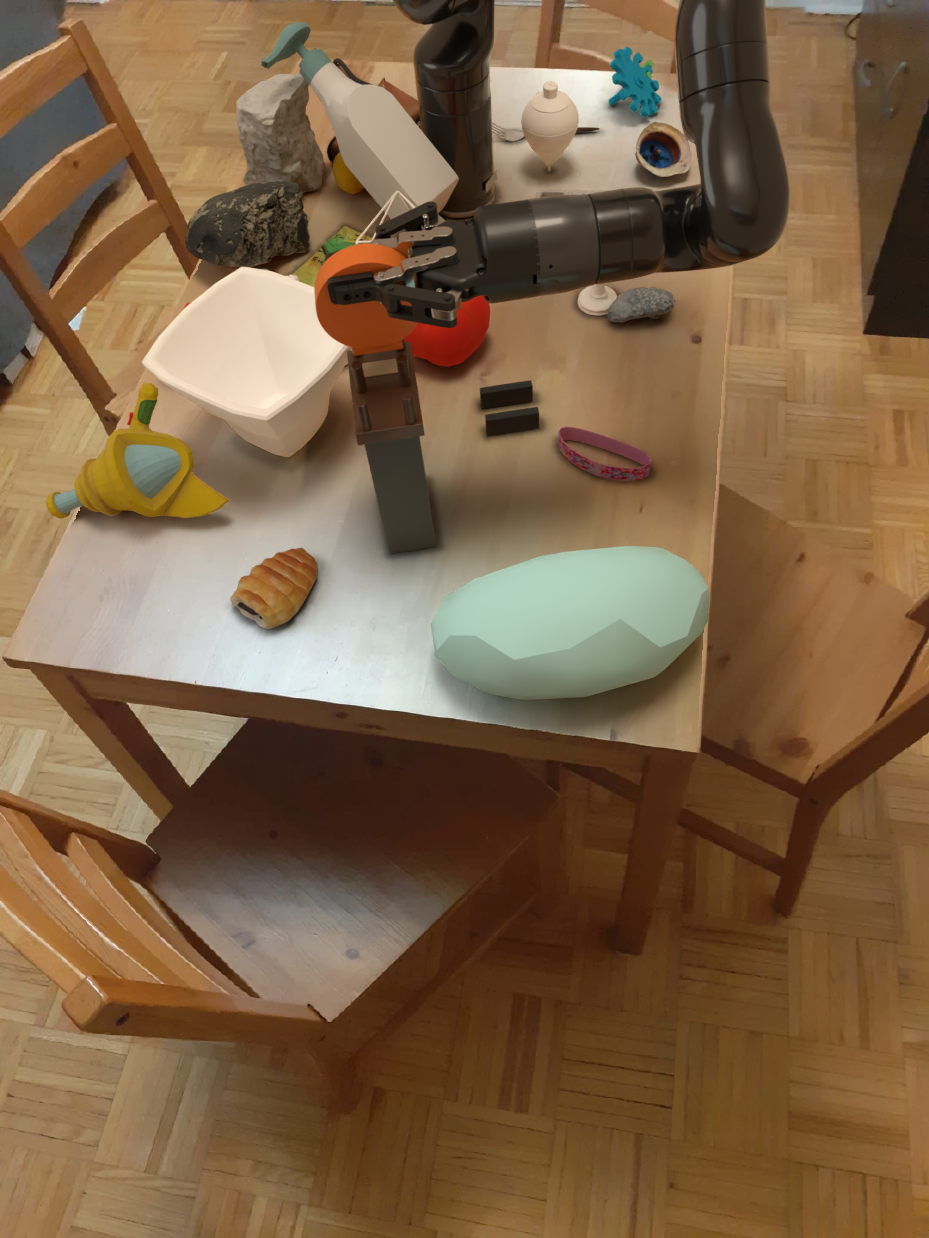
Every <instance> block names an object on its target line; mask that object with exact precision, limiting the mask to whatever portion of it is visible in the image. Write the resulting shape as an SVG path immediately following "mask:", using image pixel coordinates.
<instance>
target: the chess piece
mask: <svg viewBox="0 0 929 1238" xmlns="http://www.w3.org/2000/svg"><path fill="white" fill-rule="evenodd" d="M617 297H618V295H617V293H616V291H615V290H614V289H613V288H611V287H609V286H607V285H606V283H603V284H597V285H596V284H594V285H591V286H587V287H584V288H582V290H581V291H580V292H579V293H578V298H577V306H578V308H579V309H580V310H581V311H582V312H583V313H585V314H587V315H590V316H596V317H597V316H598V317H599V316H605V315H607V312H608V310H609V307H610V305H611V304H612V302H613V301H615V299H616V298H617Z"/></svg>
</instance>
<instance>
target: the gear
mask: <svg viewBox="0 0 929 1238" xmlns="http://www.w3.org/2000/svg"><path fill="white" fill-rule="evenodd" d="M612 55H613V57H614V59H612V60H611V62H610V64H609V67H610V68H611V70H613V71H614V72H615V73H613V75H611V80H612V84H614V85H616V86H617V85H618V86H620V87H622V89H620V90H619V91H618V92H616V93H615V94H613V96H612V97H610V98H609V99H608V103H609V105H610V106H612V107H613V106H615V105H616V104H617V103H618V102H620V101H626V100H627V99H628V98H629V99H631V100H632V102H630V104H628V108H629V110H630V111H631V112H632V113H633V114H635V113H637V112H638V111H639V115H640V116H641V117H642V118H643V119H647V118H648V117H650V116H653V115H655V114H656V113H658V112H659V107H658V105H659V104H660V103H661V102H662V97H661V96H660V95H659V94H658V93H657V91H659V90H660V83H659V81H658V80H657V79H655V80H654V79H652V78H653V75H652V74H654V71H653V67H654V62H653V60H651V59H648V61H646V62H644V64H642V65H640V63H642V62H643V61H644V57H643V55H642V54H641V53H640V51H638V52H636V53H635V54H634V55H633V50H632V48H630V47H629V46H625V47H624V48H623V49H622V48H618V49H616V51H614V52H613V54H612ZM632 55H633V56H632ZM631 57H632V58H631ZM640 107H641V109H640Z"/></svg>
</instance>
